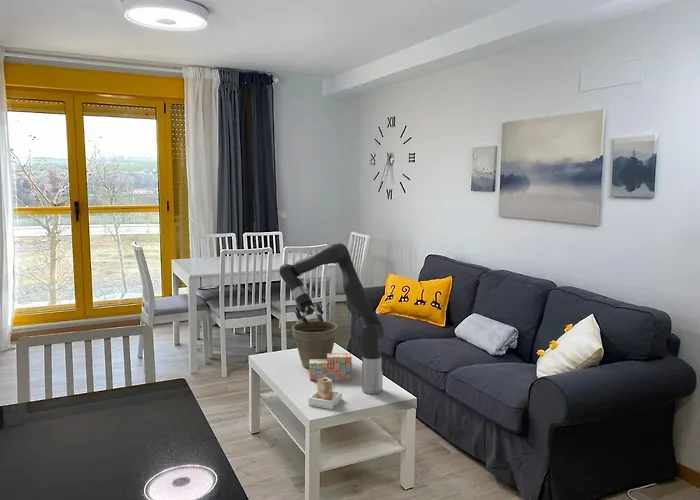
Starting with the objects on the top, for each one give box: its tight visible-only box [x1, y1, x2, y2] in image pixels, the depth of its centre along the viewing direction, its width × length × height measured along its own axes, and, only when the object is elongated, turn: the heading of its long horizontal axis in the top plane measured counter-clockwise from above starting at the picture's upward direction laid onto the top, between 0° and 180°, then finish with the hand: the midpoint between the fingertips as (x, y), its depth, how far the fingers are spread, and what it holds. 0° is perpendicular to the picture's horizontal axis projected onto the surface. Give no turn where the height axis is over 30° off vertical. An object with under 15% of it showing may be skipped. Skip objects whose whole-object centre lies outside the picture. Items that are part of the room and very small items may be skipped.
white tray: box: [307, 390, 343, 410], centre depth 254 cm, size 12×12×4 cm
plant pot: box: [291, 320, 339, 369], centre depth 302 cm, size 25×25×22 cm
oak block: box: [316, 377, 334, 401], centre depth 253 cm, size 5×5×10 cm
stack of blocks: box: [308, 352, 353, 381], centre depth 283 cm, size 21×6×12 cm, turn 95°
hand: (314, 324), depth 272 cm, fingers open, 8 cm apart
